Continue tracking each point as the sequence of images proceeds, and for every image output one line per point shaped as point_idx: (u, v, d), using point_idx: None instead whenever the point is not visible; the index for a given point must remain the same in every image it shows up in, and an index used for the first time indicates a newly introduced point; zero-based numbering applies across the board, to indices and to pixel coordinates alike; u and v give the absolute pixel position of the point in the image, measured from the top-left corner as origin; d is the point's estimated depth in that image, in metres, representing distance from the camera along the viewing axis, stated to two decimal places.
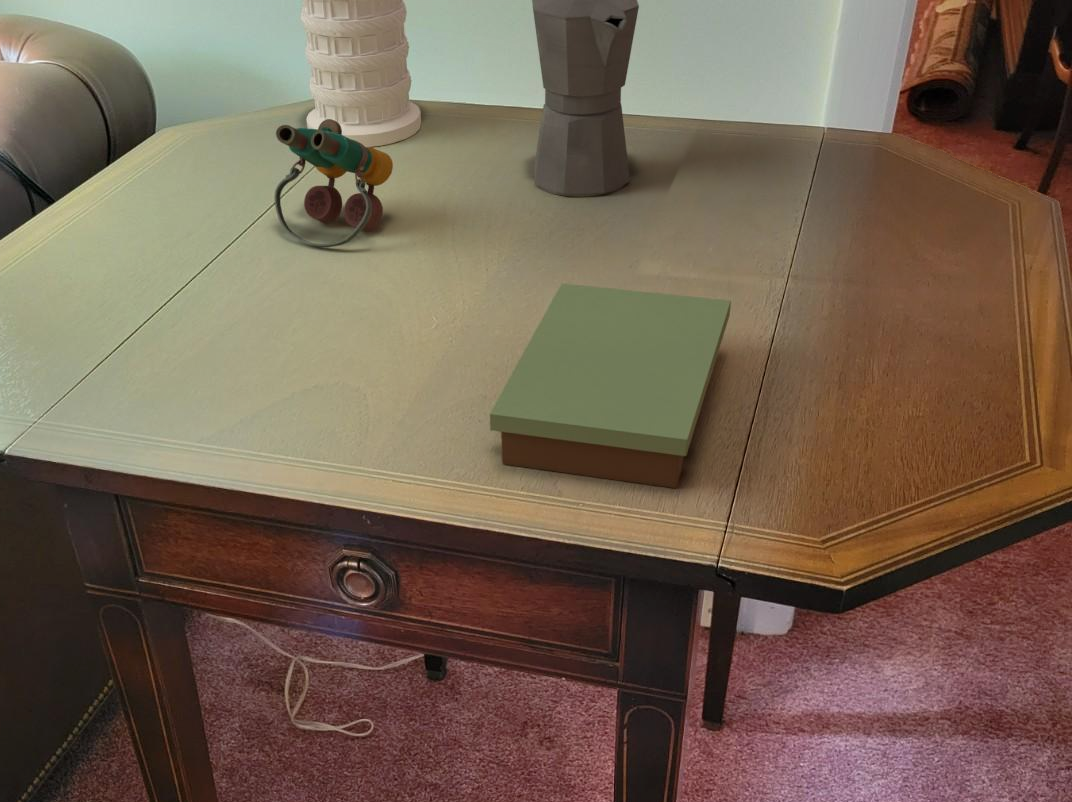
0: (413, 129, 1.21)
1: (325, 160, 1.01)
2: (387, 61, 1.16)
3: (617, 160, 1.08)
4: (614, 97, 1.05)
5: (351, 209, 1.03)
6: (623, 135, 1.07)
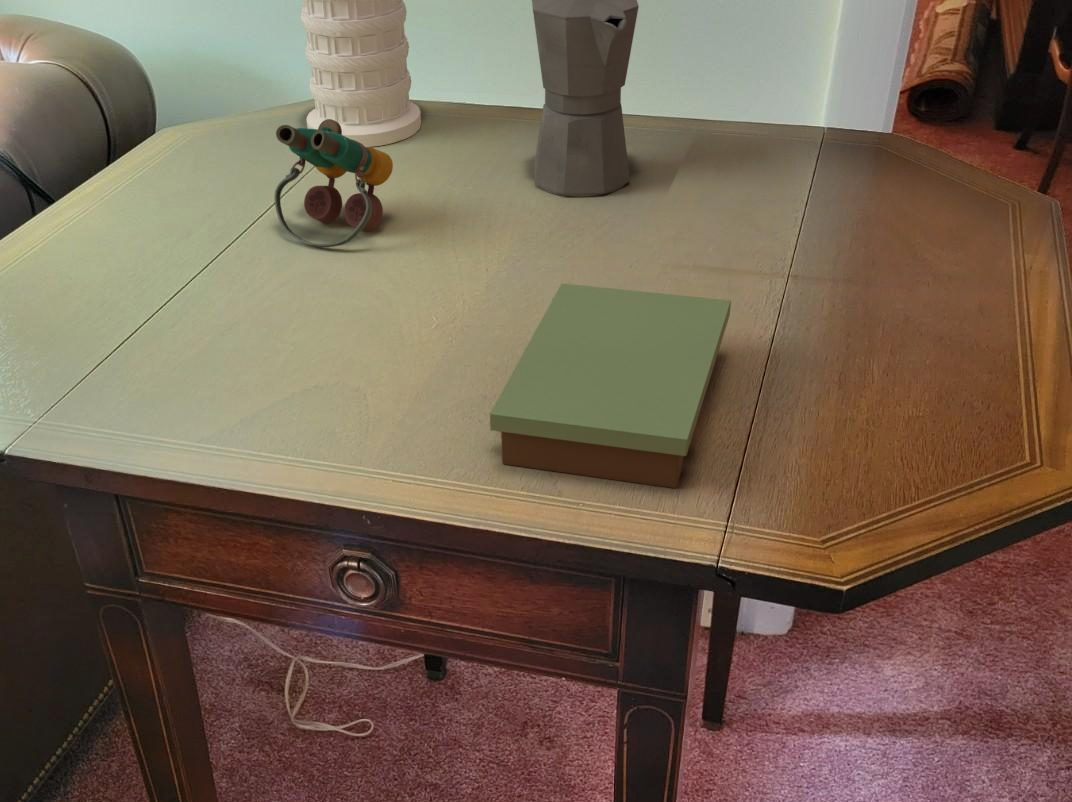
0: (413, 129, 1.21)
1: (325, 160, 1.01)
2: (387, 61, 1.16)
3: (617, 160, 1.08)
4: (614, 97, 1.05)
5: (351, 209, 1.03)
6: (623, 135, 1.07)
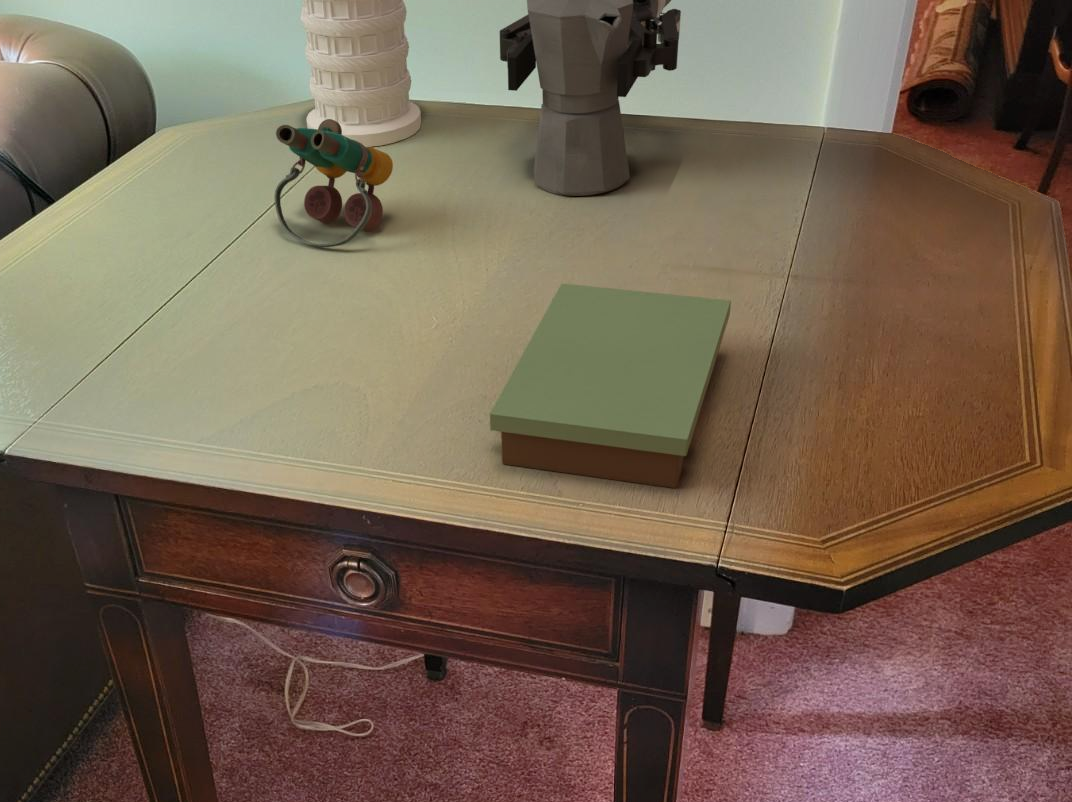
0: (413, 129, 1.21)
1: (325, 160, 1.01)
2: (387, 61, 1.16)
3: (616, 158, 1.08)
4: (611, 95, 1.05)
5: (351, 209, 1.03)
6: (622, 132, 1.07)
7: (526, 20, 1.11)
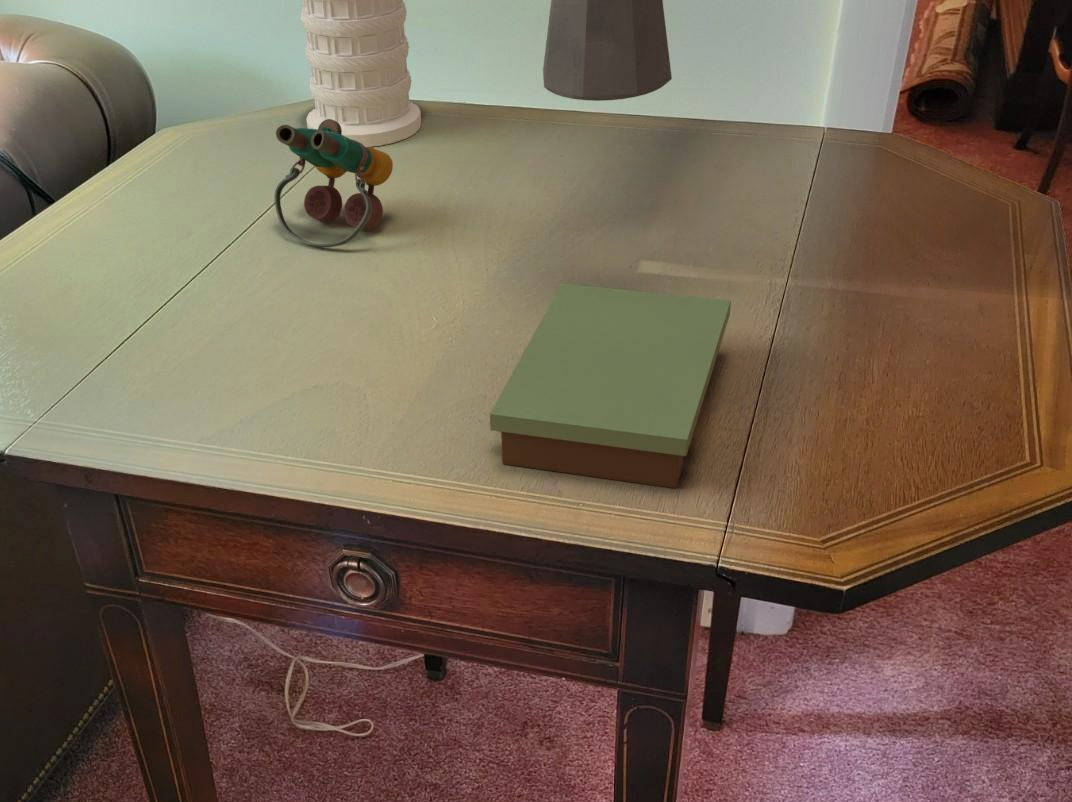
0: (413, 129, 1.21)
1: (325, 160, 1.01)
2: (387, 61, 1.16)
3: (654, 49, 0.80)
4: None
5: (351, 209, 1.03)
6: (662, 14, 0.79)
7: None
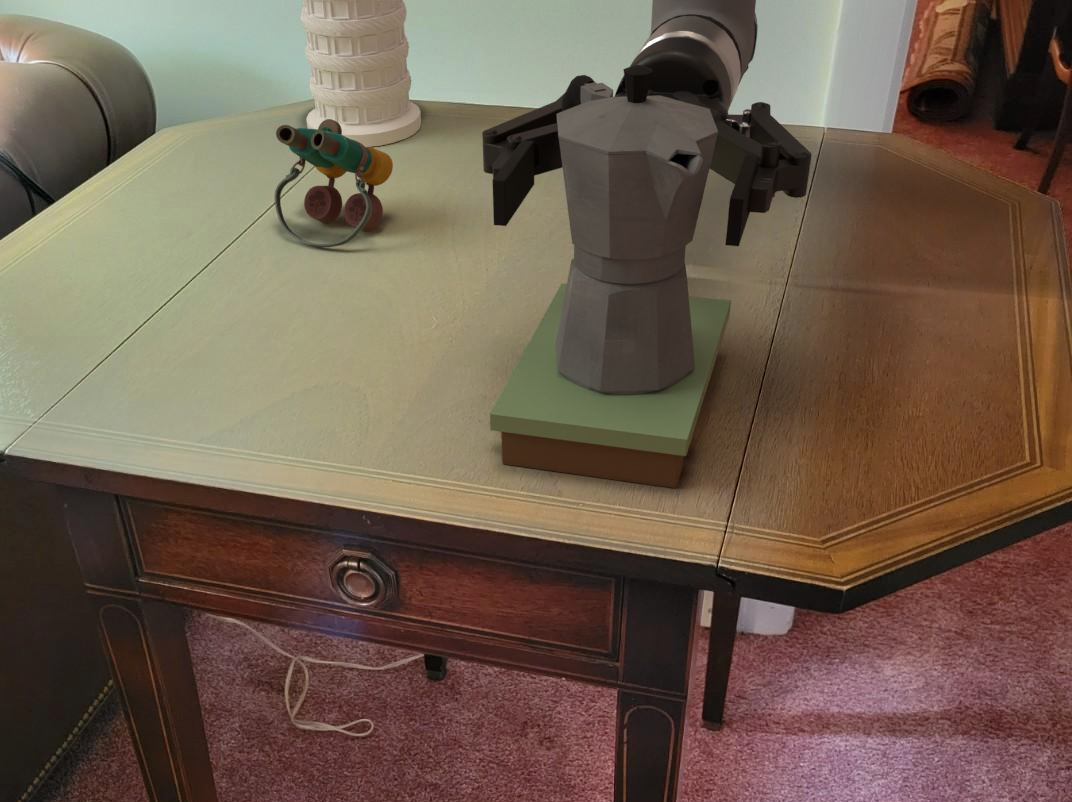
0: (413, 129, 1.21)
1: (325, 160, 1.01)
2: (387, 61, 1.16)
3: (678, 343, 0.74)
4: (676, 258, 0.71)
5: (351, 209, 1.03)
6: (687, 308, 0.74)
7: (532, 117, 0.78)
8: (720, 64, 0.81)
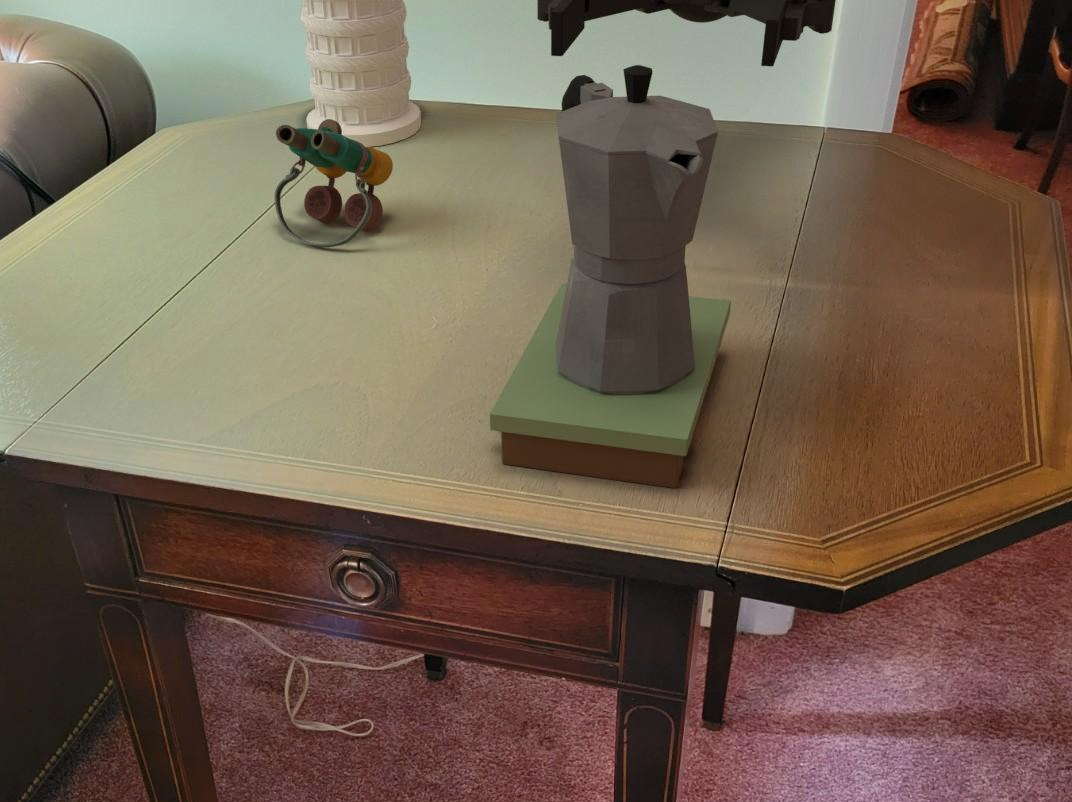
0: (413, 129, 1.21)
1: (325, 160, 1.01)
2: (387, 61, 1.16)
3: (678, 343, 0.74)
4: (676, 258, 0.71)
5: (351, 209, 1.03)
6: (687, 308, 0.74)
7: None
8: None
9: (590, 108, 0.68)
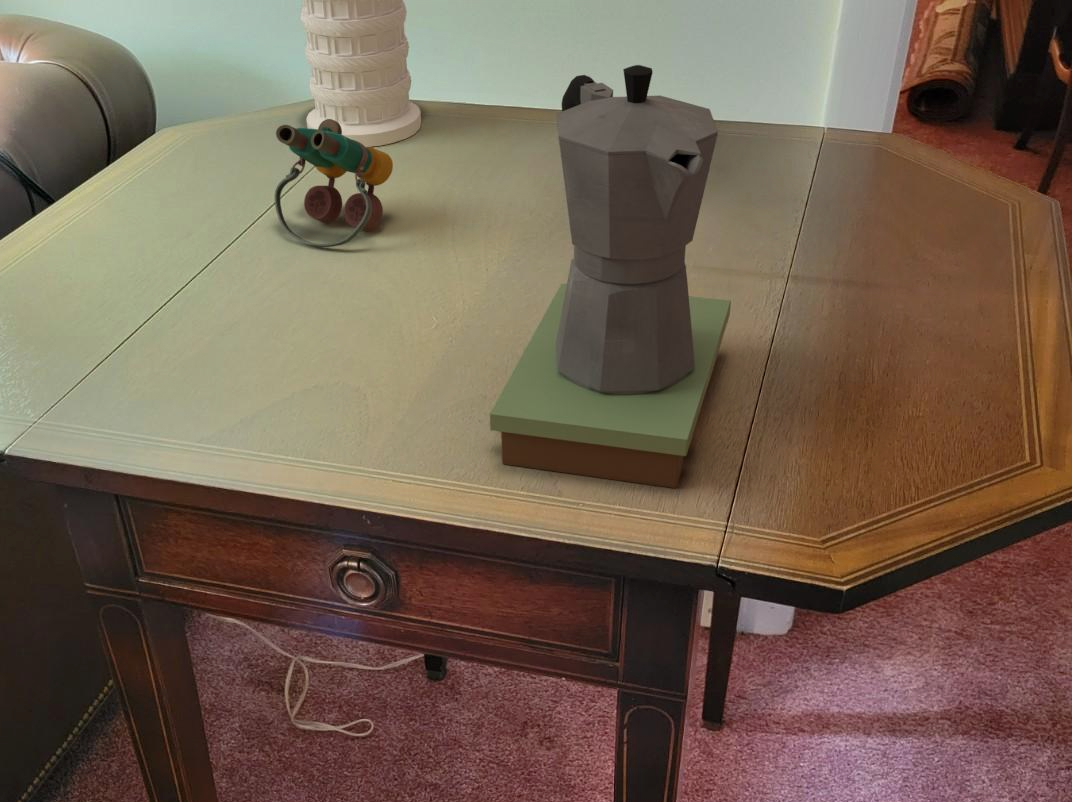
0: (413, 129, 1.21)
1: (325, 160, 1.01)
2: (387, 61, 1.16)
3: (678, 343, 0.74)
4: (676, 258, 0.71)
5: (351, 209, 1.03)
6: (687, 308, 0.74)
7: None
8: None
9: (590, 108, 0.68)
